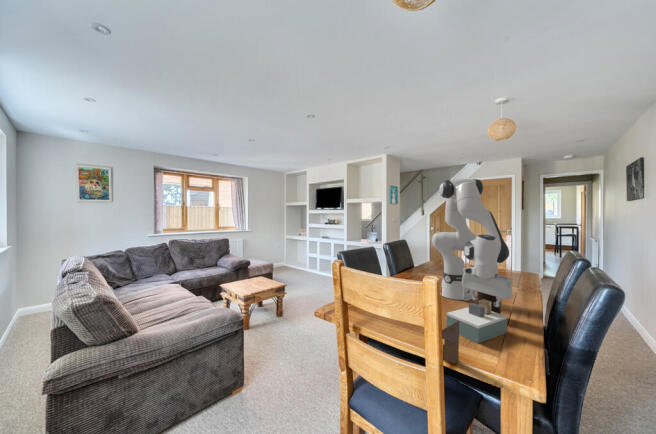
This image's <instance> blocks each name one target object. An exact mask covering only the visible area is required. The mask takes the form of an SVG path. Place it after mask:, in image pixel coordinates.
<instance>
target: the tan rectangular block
mask: <svg viewBox="0 0 656 434" xmlns="http://www.w3.org/2000/svg"><path fill="white" fill-rule="evenodd" d="M479 305H481V306H484V307H485V313H484V314H485V315H490V314H491V301H488V300H484V299H482V300H479Z"/></svg>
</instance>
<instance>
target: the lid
mask: <svg viewBox="0 0 656 434" xmlns="http://www.w3.org/2000/svg"><path fill="white" fill-rule="evenodd" d="M484 313H485V307H484V306H481V305H478V303H474V302H472V303H469V304H468V307H467V306H466V307H463V308H460V309H457V310H453V311H449V312H446V316H447V315H448V316H450V317H452V318H455V319H457V320H459V321H462V322H464V323H467V324H469V325H471V326H474V327H476V328H481V327H484V326H487V325H490V324H493V323H496V322H499V321H502V320H505V319H507V320H508V316H507V315H504V314H498V313H496V312H493V311H491V314H490V315H485V314H484Z"/></svg>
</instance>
